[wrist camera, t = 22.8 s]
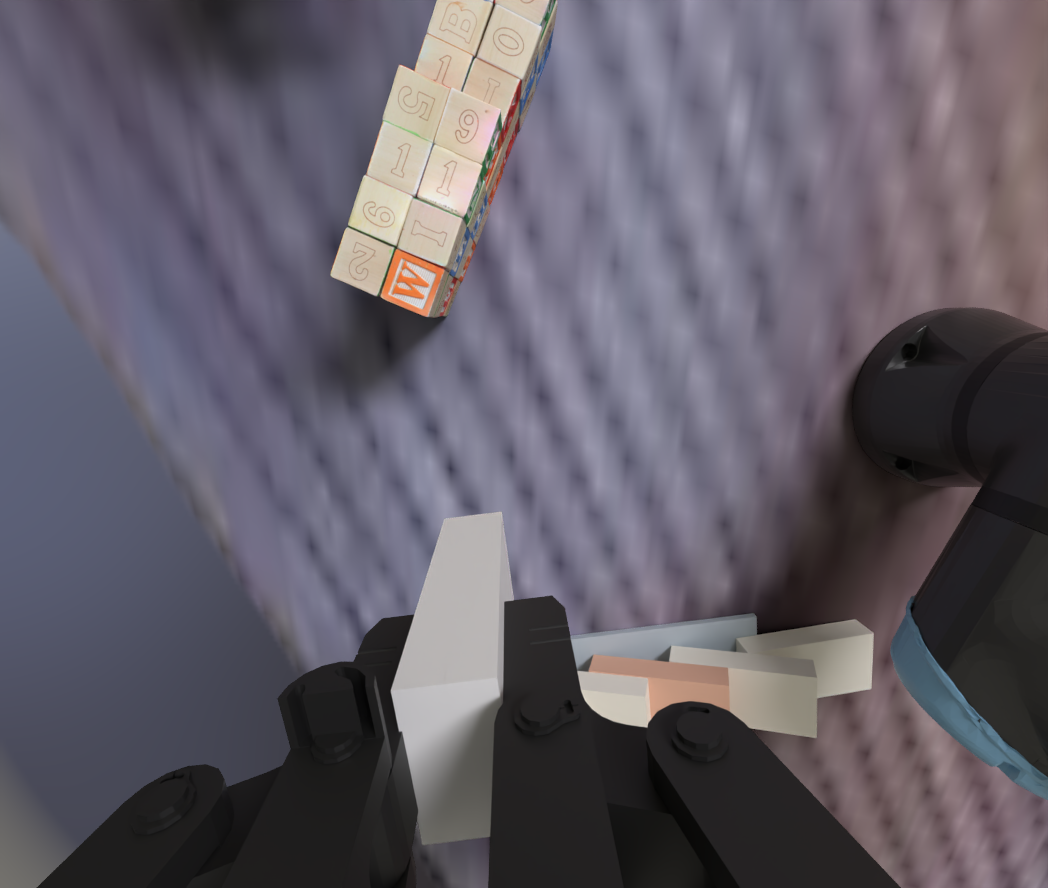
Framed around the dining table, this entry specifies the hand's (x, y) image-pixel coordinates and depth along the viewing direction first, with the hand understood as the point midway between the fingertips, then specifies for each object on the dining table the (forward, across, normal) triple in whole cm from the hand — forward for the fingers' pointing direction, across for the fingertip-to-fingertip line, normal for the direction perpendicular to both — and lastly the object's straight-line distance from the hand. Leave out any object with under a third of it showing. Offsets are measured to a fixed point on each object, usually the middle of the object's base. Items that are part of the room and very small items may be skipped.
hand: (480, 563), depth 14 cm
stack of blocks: (+33, +1, -17) cm, 37 cm away
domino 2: (+31, -5, +29) cm, 42 cm away
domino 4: (+31, -20, +29) cm, 46 cm away
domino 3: (+31, -13, +29) cm, 44 cm away
